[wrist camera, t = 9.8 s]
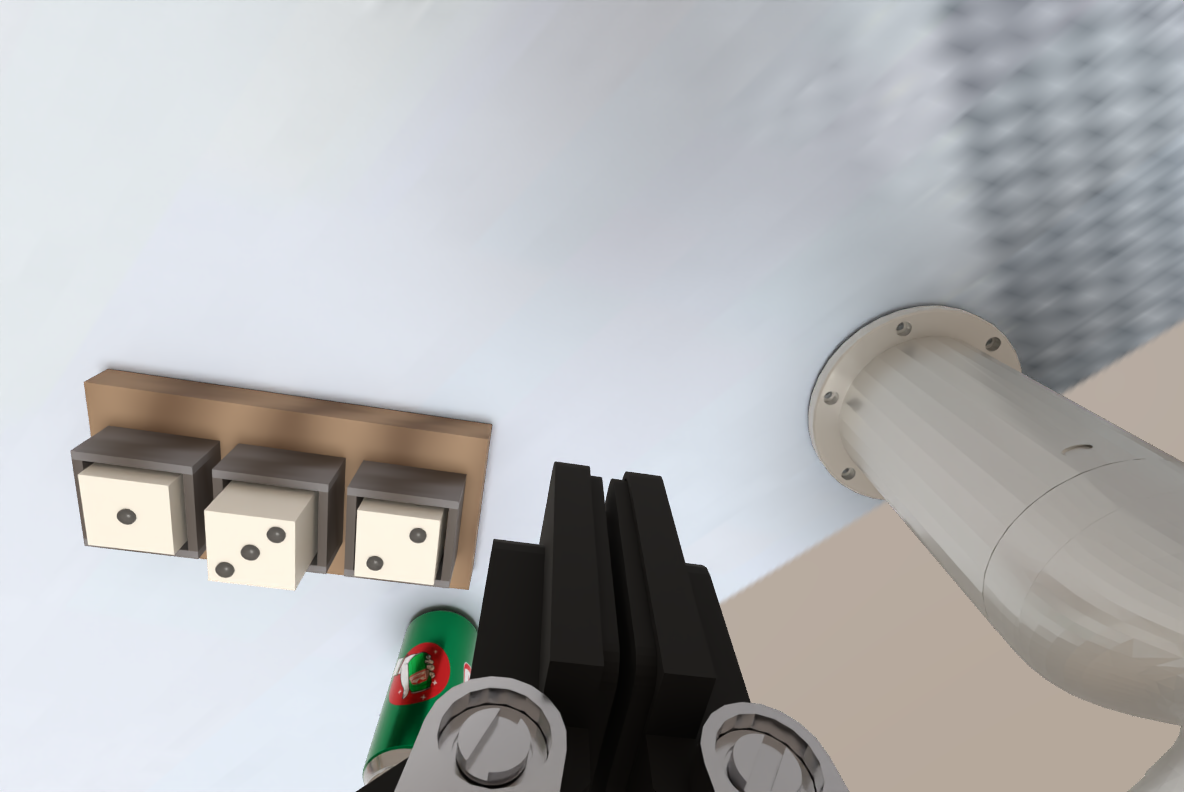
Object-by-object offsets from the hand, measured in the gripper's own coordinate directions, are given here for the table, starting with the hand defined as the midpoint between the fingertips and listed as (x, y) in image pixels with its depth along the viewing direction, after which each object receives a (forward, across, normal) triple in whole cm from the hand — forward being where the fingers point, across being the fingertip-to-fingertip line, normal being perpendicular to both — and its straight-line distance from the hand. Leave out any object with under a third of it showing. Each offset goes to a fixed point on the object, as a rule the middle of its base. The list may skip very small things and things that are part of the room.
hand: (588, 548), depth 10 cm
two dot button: (+25, +7, +17) cm, 31 cm away
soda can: (+27, +4, +28) cm, 40 cm away
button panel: (+27, +14, +17) cm, 35 cm away
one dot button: (+25, +21, +17) cm, 37 cm away
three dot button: (+23, +14, +17) cm, 32 cm away
